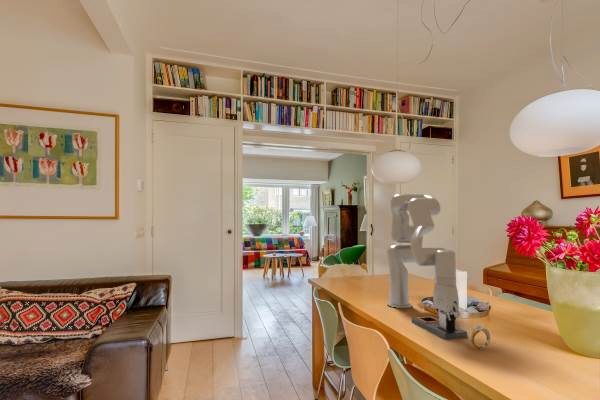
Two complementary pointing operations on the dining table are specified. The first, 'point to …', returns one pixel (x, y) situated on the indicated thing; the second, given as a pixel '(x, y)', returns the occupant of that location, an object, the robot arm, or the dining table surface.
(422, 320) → the dark grey socket board
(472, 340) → the bracelet
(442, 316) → the peg
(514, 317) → the dining table surface
